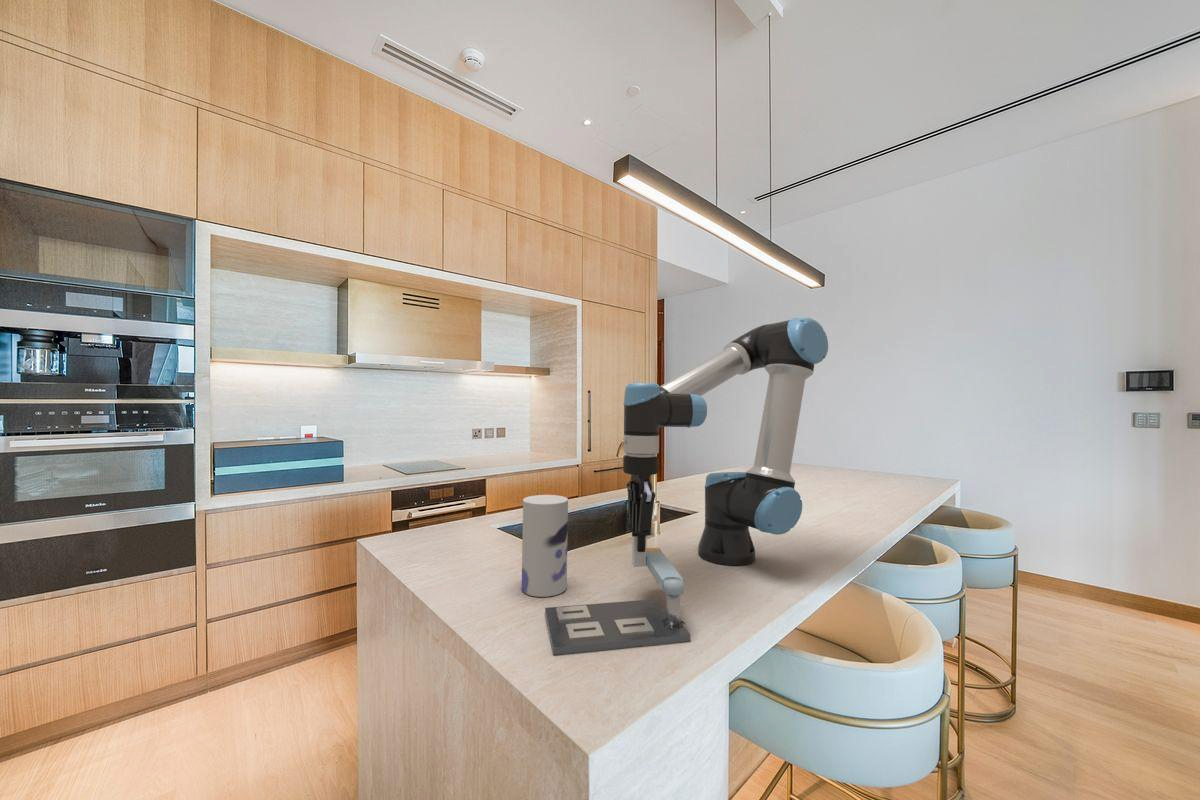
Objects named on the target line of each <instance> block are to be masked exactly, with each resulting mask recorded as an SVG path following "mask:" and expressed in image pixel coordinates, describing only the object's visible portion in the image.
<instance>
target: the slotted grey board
mask: <svg viewBox="0 0 1200 800" xmlns="http://www.w3.org/2000/svg"><path fill="white" fill-rule="evenodd" d="M544 616H545V620H546V621H545V622H546V626H547V631H548V637H549V641H550V645H551V650H552V654H553V656H560V655H568V654H580V653H589V652H591V653H592V652H599V651H600V652H602V651H608V650H620V649H628V648H629V649H630V648H638V647H639V648H640V647H648V646H658V645H660V646H661V645H668V644H680V643H687V642H689V643H690V642H691V640H692V639H691V637H692V636H691V633H690V632H689V631H688V629H687V628H686V626H685V627H684V626H683V625H679V627H677V626H676V627H675V628H674V626H673V627H671V628H668V624H667V623H666V622H664V621H666V618H667V603H665V601H664V600H663V598H653V599H652V598H651V599H650V598H649V599H641V600H640V599H639V600H628V601H627V600H624V601H615V602H614V601H613V602H611V601H610V602H601V603H587V604H575V605H562V606H551V607H550V606H549V607H544ZM663 620H664V621H663ZM661 621H663V622H664V623H663V622H662V623H661ZM665 623H666V624H665ZM663 624H665V626H667V627H665V626H664V625H663ZM680 624H682V623H681V622H680ZM680 626H681V627H680ZM669 627H670V625H669ZM682 627H683V628H682ZM672 628H673V629H672ZM676 628H678V629H676ZM679 628H680V629H679Z"/></svg>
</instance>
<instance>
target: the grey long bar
mask: <svg viewBox="0 0 1200 800" xmlns="http://www.w3.org/2000/svg"><path fill="white" fill-rule="evenodd" d="M662 551H663V550H662V549H661V548H660V547H646V566H645V567H647V569H648V570H649V572H650V574H651V575H652V577H653V579H654V580H655V582H656V584H657V585H658V586H659V588H660V590H661V591H663V593H664V594H666V595H667V594H668V595H674V596H677V595H680V596H681V595H683V594H684V583H685V582H684V578H683V576H682V575H681V574H680V573H679V571H677V569H676V568H675V567H674V565H673V564H672V563H671V562H670V560H669V559H668V557H667V556H666V554H664V553H663V552H662Z"/></svg>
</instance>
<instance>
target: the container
mask: <svg viewBox="0 0 1200 800" xmlns="http://www.w3.org/2000/svg"><path fill="white" fill-rule="evenodd" d="M568 519H569V498H568V497H567V496H562V495H556V494H539V495H538V494H537V495H529V496H526V497H524V498H523V499H522V539H521V541H522V543H521V544H522V546H521V547H522V549H521V550H522V551H521V555H522V556H521V591H522V592H523V593H524V594H526V595H528V596H531V597H532V596H533V597H536V598H537V597H539V598H546V597H553V596H558V595H560V594H562V593H563V592H565V591H566V590H567V587H568V584H567V583H568V534H569V533H568V531H569V530H568V529H569V528H568V525H569V523H568V522H569V521H568Z"/></svg>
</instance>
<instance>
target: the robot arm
mask: <svg viewBox="0 0 1200 800" xmlns="http://www.w3.org/2000/svg"><path fill="white" fill-rule="evenodd" d="M828 350H829V341H828V336H827V334H826V331H825V330H824V328H823V326H822V325H821V323H819V322H818V321H817V320H815V319H814V318H810V317H799V318H792V319H788V320H784V321H779V322H774V323H769V324H768V323H767V324H763V325H760V326H757V327H755V328H752V329H751V330H749V331H747V332H746V333H744V334H743V335H740V336H739V337H737V338H735V339H734V340H732V341H730V342H728V343H727V344H725V346H724V347H723V349H722V351H720V352H718V353H716V354H715V355H713V356H711V357H709V358H708V359H706V360H704V361H702V362H701V363H698V364H697V365H695V366H693V367H692V368H689V369H688V370H686V371H685V372H683V373H682V374H679V375H678V376H676V377H674V378H672V379H670V380H669V381H667V382H665V383H664V384H661V385H659V384H658V383H655V382H654V383H653V382H630V383H628V384H627V385H626V386H625V387H624V388H625V390H624V398H623V439H621V440H620V441H621V443H620V444H623V453H624V454H626V455H624V456H623V458H622V472H623V473H624V474H627V475H630V481H628V482H627V483H626V488H627V490H626V491H627V503H628V526H629V529H630V530H631V536H632V538H631V565H632V566H633V568H636V567H637V568H638V567H639V568H641V567H647V566H646V548H647V538H648V537H647V536H651V531H652V523H653V512H654V511H653V510H654V502H655V499H656V492H655V491H652V490H653V486H652V485H653V484H652V482H651V476H652V475H656V474H658V472H659V457H658V456H657V455H658V454H659V453H660V451H659V450H660V428H664V427H665V428H694V427H695V428H696V427H699V426H701V425H703V424H704V423H705V421H706V419H707V416H708V406H707V405H708V404H707V402H706V400H705V399H704V397H703V396H704V395H705V394H707V393H709V392H710V391H711V390H713V389H715V388H717V387H718V386H720V385H721V384H724V383H725V382H726V381H729V380H731V379H732V378H733V377H735V376H737V375H739V376H740V375H742V376H743V375H746V374H748V373H749V372H751V371H754V370H757V369H764V370H765V371H766V372H767V374H768V383H767V388H766V392H765V393H766V395H765V399H764V405H763V410H762V411H763V412H762V416H761V423H760V430H759V434H758V440H757V445H756V450H755V451H756V452H755V456H754V463H753V466H752V467H751V468H749V469H748V470H746V471H722V472H711V473H708V474H707V476H706V477H705V484H704V485H705V486H704V528H703V531H702V534H701V537H700V540H699V543H698V547H697V550H698V551H697V553H698V554H697V555H698V557H700V558H701V559H702V560H705V561H707V562H710V563H713V564H718V565H724V566H725V565H727V566H744V565H745V566H746V565H750V564H752V563H754V562H755V561H756V549H755V546H754V545H755V544H754V542H753V539H752V536H751V533H750V528H753V529H755V530H758V531H760V532H762V533H766V534H772V535H783V534H786V533H789V532H790V531H791V529H793V528H795V526H796V525H797V523H798V522H799V520H800V518H801V516H802V512H803V501H802V496H801V495H800V493H799V492H798V491H797V490H796V489H795V484H796V481H795V479H794V477H793V476H792V475H791V468H792V463H793V461H792V460H793V456H794V450H795V444H796V440H797V439H796V437H797V431H798V426H799V420H800V414H801V407H802V403H803V397H804V390H805V384H806V380H807V379H808V378H810V377H812V376H813V375H814V371H815V365H818V364H820V363H821V362H823V360H824V359H826V357H827V354H828V352H829V351H828Z"/></svg>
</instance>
